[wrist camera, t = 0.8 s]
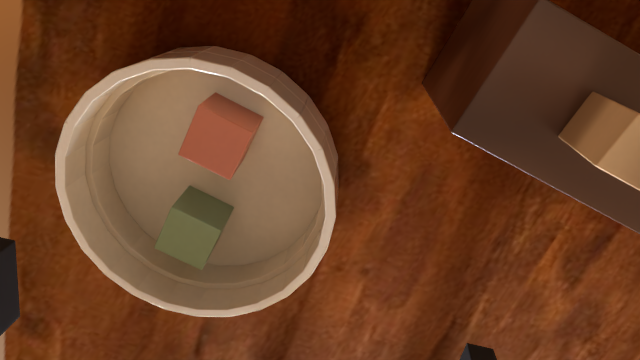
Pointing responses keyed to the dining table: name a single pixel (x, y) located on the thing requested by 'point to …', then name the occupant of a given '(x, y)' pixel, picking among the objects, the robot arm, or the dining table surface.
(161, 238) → the sage block
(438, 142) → the dining table surface
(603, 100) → the wooden mallet
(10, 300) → the robot arm
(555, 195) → the dining table surface
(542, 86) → the stand
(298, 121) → the bowl
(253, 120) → the terracotta block
